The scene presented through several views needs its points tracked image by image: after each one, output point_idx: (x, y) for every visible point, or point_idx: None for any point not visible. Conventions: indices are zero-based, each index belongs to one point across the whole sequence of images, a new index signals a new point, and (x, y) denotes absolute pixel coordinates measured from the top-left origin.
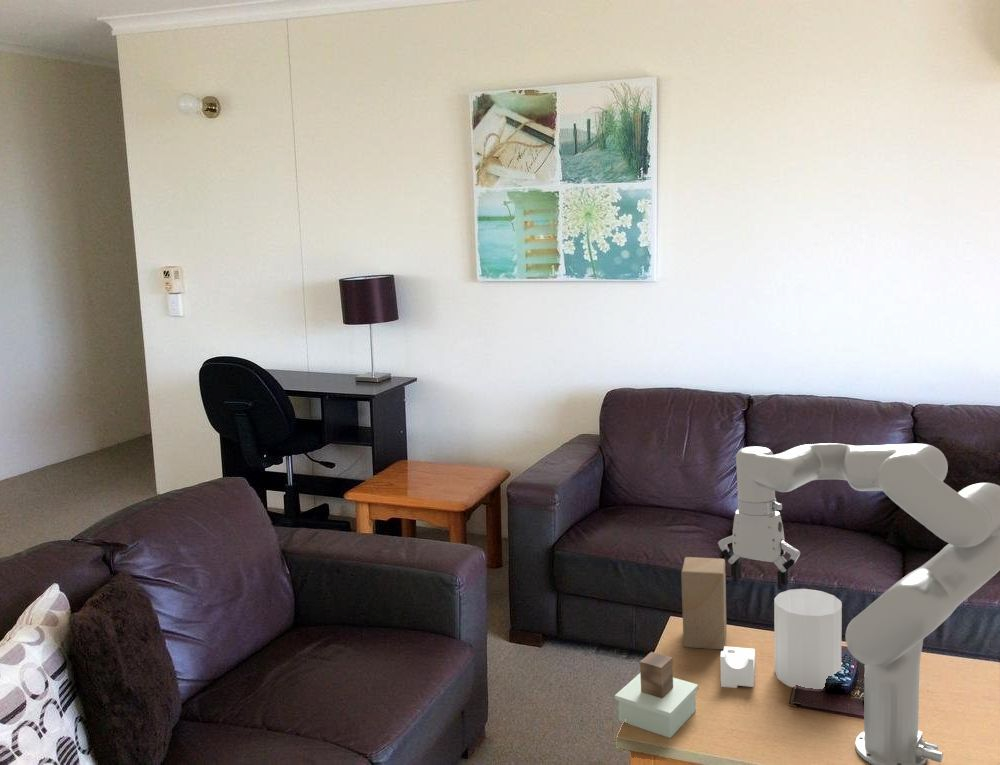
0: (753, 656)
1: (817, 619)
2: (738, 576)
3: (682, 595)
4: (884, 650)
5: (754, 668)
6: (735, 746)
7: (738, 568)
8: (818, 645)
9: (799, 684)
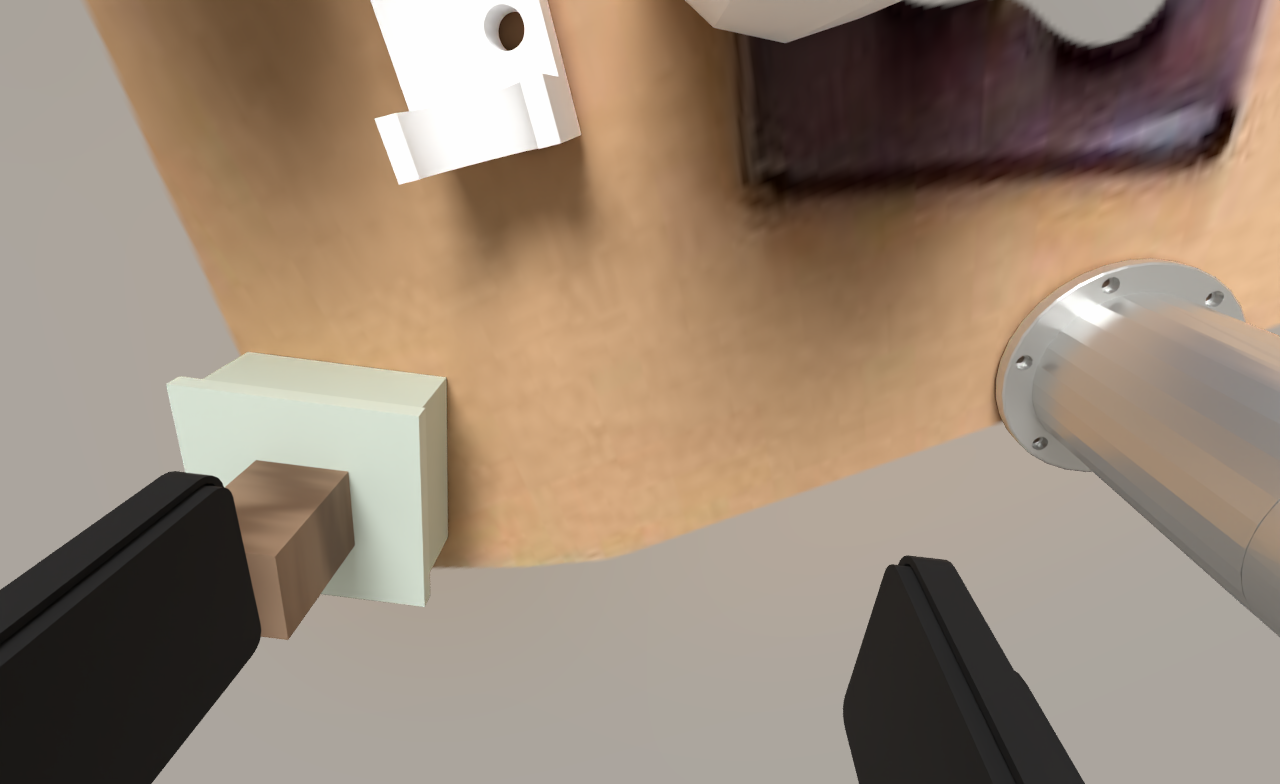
0: (547, 85)
1: None
2: (209, 617)
3: None
4: None
5: None
6: (632, 507)
7: (96, 731)
8: None
9: (773, 37)
